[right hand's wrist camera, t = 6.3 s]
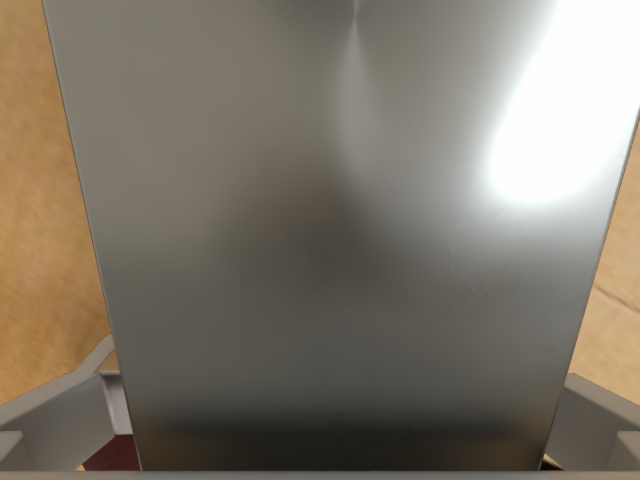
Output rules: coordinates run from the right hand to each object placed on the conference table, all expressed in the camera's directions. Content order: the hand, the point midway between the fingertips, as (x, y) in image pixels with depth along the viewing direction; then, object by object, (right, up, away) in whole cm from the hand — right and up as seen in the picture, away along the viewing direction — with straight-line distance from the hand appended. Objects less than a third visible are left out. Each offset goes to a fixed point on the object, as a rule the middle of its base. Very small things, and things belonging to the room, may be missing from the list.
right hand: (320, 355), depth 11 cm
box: (0, +9, +2) cm, 9 cm away
